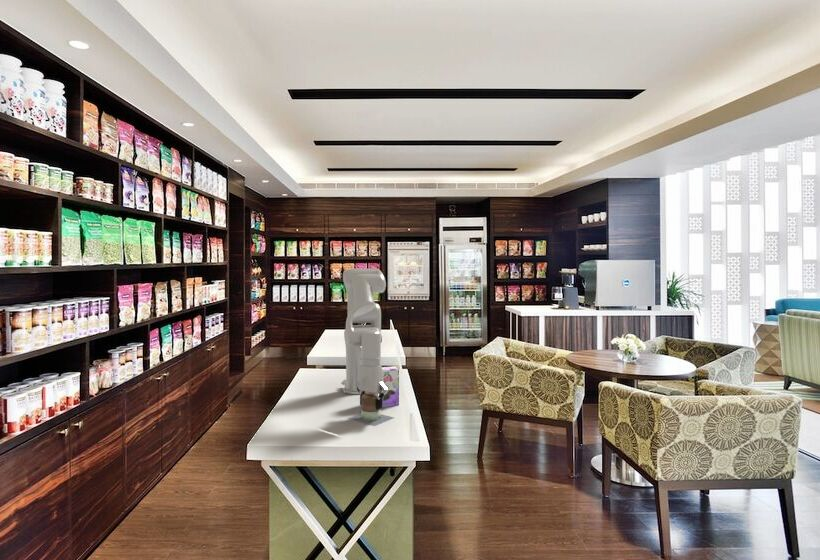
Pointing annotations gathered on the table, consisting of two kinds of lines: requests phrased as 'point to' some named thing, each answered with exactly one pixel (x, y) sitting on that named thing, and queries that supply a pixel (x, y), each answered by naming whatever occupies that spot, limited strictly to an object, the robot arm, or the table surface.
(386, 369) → the candy box
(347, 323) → the robot arm
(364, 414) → the jar
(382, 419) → the mat
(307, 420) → the table surface
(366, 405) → the brown short round piece
